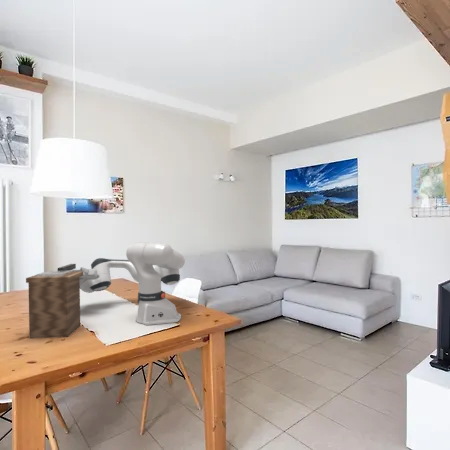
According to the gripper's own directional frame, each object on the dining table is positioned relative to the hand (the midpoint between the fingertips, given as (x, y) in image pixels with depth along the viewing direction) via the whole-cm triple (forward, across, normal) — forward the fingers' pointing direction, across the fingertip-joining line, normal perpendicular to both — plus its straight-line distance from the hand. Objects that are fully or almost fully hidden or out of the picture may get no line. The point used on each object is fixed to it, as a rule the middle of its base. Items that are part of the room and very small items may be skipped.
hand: (72, 268), depth 162 cm
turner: (+11, 0, -6) cm, 12 cm away
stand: (+3, 0, -32) cm, 32 cm away
